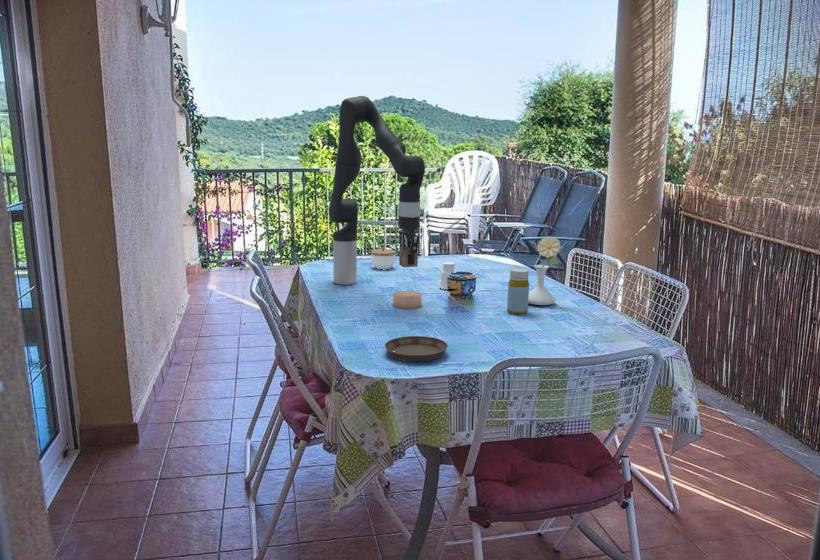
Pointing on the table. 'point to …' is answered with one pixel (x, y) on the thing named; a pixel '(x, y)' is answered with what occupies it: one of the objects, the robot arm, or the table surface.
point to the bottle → (518, 291)
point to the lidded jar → (383, 258)
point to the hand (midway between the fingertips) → (408, 262)
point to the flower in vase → (540, 293)
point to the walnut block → (406, 258)
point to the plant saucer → (416, 348)
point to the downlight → (446, 273)
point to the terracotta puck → (407, 299)
